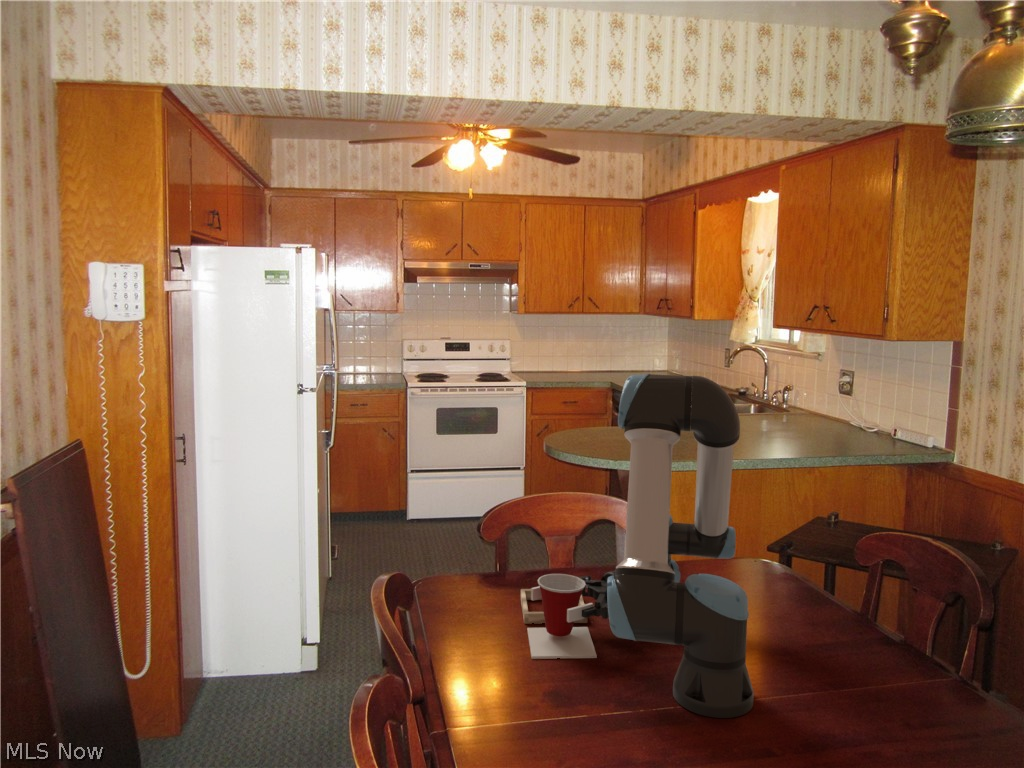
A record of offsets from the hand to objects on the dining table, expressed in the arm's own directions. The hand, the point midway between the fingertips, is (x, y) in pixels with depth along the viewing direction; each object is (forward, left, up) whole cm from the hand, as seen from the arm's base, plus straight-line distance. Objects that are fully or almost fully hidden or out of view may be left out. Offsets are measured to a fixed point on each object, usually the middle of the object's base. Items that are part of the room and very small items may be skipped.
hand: (549, 604), depth 171 cm
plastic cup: (+5, -3, -8) cm, 10 cm away
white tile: (+2, -3, -10) cm, 10 cm away
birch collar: (+20, -3, -10) cm, 22 cm away
